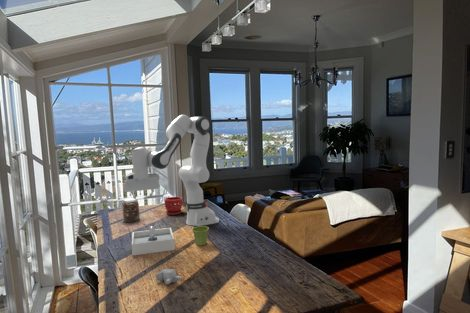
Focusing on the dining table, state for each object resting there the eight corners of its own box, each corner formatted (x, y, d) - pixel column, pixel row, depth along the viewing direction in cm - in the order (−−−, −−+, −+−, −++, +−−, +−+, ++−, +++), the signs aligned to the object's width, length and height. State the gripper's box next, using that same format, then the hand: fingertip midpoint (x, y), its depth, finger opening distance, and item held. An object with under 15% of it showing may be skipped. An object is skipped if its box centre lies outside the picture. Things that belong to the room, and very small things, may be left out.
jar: (143, 218, 256) (142, 198, 255) (130, 222, 247) (129, 201, 245) (132, 217, 263) (130, 197, 261) (119, 221, 253) (118, 200, 252)
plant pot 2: (212, 241, 200) (211, 226, 199) (204, 247, 191) (203, 231, 190) (198, 240, 203) (197, 225, 203) (189, 245, 195) (188, 230, 194)
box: (171, 237, 211) (170, 227, 210) (174, 249, 190) (174, 238, 189) (133, 242, 205) (132, 232, 205) (132, 255, 184) (131, 244, 183)
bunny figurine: (172, 264, 160) (185, 271, 147) (173, 275, 160) (186, 284, 147) (152, 269, 155) (163, 277, 142) (153, 281, 155) (165, 290, 142)
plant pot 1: (181, 215, 261) (180, 199, 260) (163, 216, 261) (162, 200, 260) (184, 211, 274) (183, 195, 273) (167, 211, 274) (166, 196, 273)
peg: (155, 242, 202) (154, 225, 201) (156, 244, 199) (154, 227, 198) (150, 243, 201) (148, 226, 200) (150, 245, 198) (149, 228, 197)
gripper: (158, 172, 215) (160, 194, 216) (123, 175, 209) (125, 198, 211) (159, 173, 209) (161, 196, 210) (123, 177, 203) (125, 200, 205)
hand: (143, 197), depth 210 cm, fingers open, 8 cm apart
